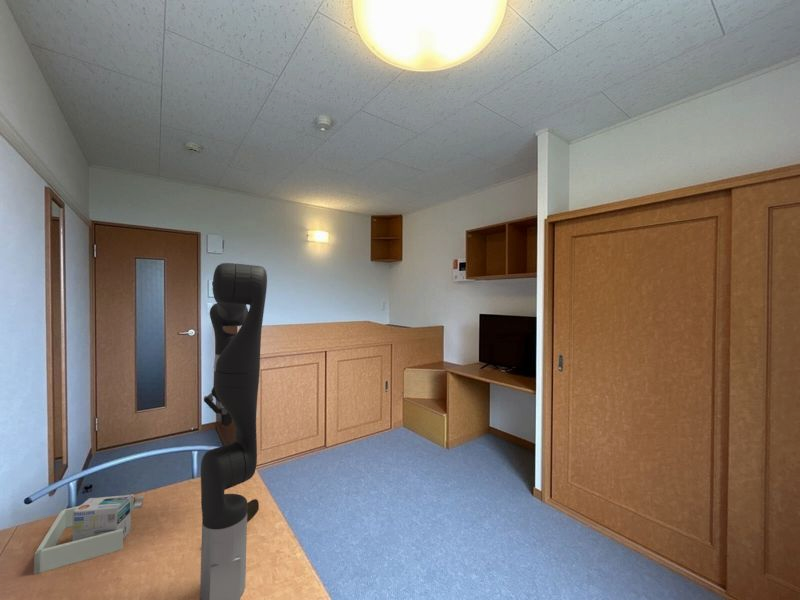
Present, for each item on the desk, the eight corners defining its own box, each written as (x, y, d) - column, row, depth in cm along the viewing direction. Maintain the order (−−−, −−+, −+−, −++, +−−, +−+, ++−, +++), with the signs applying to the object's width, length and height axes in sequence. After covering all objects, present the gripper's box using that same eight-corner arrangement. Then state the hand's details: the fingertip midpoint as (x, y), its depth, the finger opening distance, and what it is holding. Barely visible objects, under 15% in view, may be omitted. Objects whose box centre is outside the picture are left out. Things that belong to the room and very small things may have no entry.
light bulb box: (131, 531, 97) (132, 493, 97) (117, 547, 90) (118, 507, 91) (87, 535, 95) (89, 496, 95) (70, 552, 88) (71, 511, 88)
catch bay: (121, 549, 90) (122, 530, 90) (33, 574, 81) (34, 553, 81) (133, 510, 107) (133, 494, 107) (61, 527, 98) (62, 509, 98)
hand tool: (213, 553, 89) (214, 535, 89) (202, 549, 91) (203, 531, 91) (265, 512, 107) (265, 498, 107) (255, 510, 108) (255, 495, 109)
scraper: (141, 507, 108) (141, 501, 108) (82, 521, 101) (83, 515, 101) (143, 498, 113) (143, 492, 113) (88, 510, 106) (88, 504, 106)
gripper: (203, 372, 96) (201, 433, 96) (253, 368, 103) (251, 425, 103) (202, 368, 102) (200, 425, 102) (249, 364, 109) (248, 418, 109)
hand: (226, 425), depth 102 cm, fingers closed
